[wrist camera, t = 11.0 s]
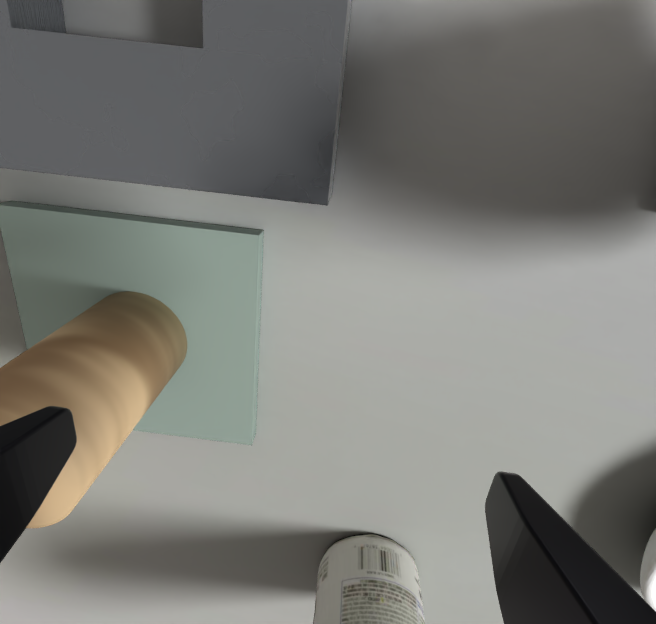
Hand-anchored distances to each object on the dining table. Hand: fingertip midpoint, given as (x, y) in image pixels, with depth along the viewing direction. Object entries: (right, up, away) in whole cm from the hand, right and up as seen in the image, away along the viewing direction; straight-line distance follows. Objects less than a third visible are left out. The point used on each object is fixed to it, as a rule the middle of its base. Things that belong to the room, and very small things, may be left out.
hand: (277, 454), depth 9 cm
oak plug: (-8, +2, +12) cm, 15 cm away
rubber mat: (-8, +2, +13) cm, 16 cm away
